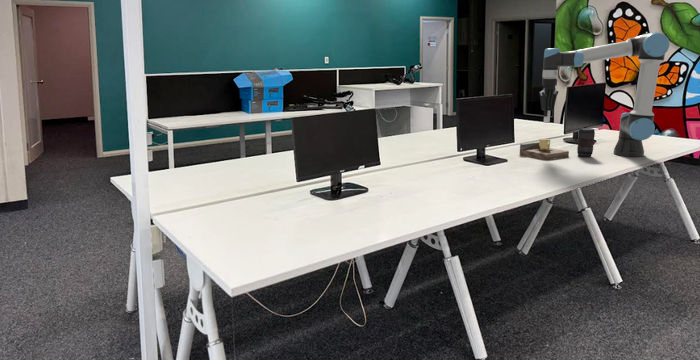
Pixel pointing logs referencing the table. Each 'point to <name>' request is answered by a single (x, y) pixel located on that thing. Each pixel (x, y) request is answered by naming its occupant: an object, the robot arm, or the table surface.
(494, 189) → the table surface
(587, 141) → the camera lens
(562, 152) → the plate
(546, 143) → the brass sleeve
